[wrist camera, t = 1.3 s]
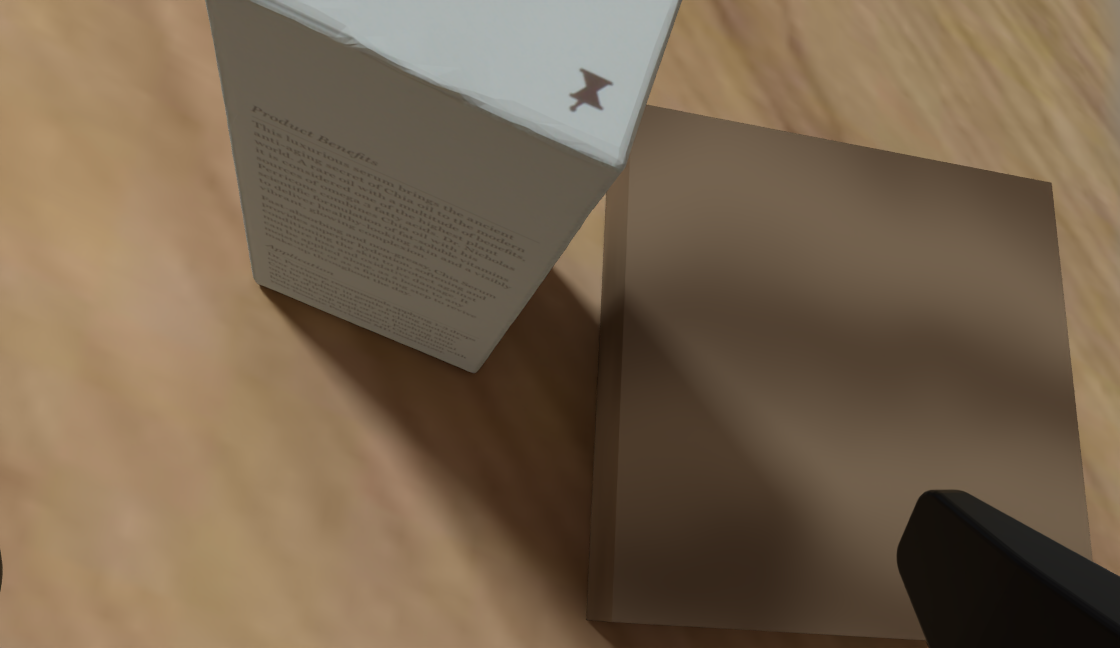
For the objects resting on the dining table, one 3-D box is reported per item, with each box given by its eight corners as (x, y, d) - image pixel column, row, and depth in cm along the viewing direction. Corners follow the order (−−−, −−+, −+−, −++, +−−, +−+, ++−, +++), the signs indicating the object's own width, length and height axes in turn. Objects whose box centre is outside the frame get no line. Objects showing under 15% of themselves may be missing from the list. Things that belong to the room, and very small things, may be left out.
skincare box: (532, 235, 25) (718, -57, 14) (475, 379, 23) (631, 181, 12) (317, 139, 24) (330, -253, 13) (243, 282, 23) (186, -24, 11)
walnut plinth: (1044, 647, 25) (1102, 650, 24) (586, 619, 22) (611, 622, 21) (1004, 208, 29) (1051, 182, 27) (608, 136, 26) (632, 101, 24)
